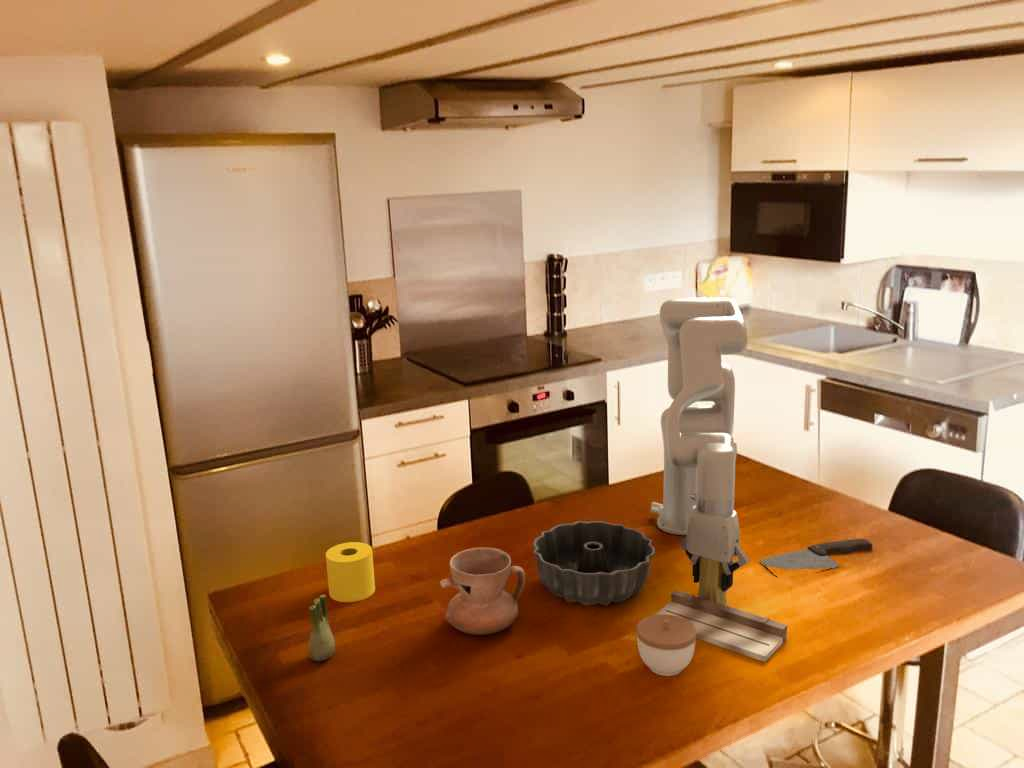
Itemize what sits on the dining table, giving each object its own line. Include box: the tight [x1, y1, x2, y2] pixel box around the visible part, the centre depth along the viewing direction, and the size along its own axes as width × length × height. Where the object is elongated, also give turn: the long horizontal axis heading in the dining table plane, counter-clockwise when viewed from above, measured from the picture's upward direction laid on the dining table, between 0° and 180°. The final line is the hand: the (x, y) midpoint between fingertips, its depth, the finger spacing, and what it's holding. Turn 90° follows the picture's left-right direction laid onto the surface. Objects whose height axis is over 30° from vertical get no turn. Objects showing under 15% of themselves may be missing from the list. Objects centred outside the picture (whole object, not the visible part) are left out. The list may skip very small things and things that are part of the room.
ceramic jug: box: [439, 546, 526, 636], centre depth 174 cm, size 18×14×14 cm
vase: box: [697, 557, 728, 606], centre depth 179 cm, size 6×6×14 cm
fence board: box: [654, 589, 788, 663], centre depth 170 cm, size 24×10×3 cm, turn 51°
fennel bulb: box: [308, 594, 336, 662], centre depth 164 cm, size 6×5×12 cm
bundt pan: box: [533, 520, 656, 607], centre depth 188 cm, size 26×26×10 cm
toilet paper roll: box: [325, 541, 376, 603], centre depth 189 cm, size 10×10×9 cm
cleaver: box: [759, 538, 873, 571], centre depth 198 cm, size 29×10×2 cm, turn 110°
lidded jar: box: [636, 614, 697, 677], centre depth 157 cm, size 11×11×9 cm
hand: (712, 583), depth 179 cm, fingers closed on vase, 5 cm apart
